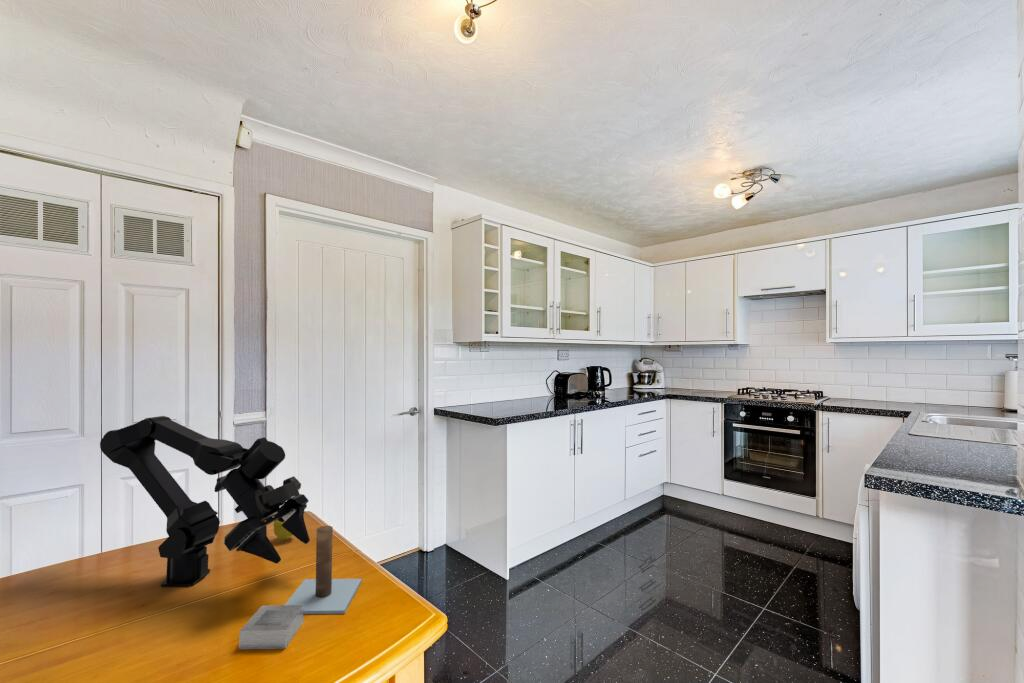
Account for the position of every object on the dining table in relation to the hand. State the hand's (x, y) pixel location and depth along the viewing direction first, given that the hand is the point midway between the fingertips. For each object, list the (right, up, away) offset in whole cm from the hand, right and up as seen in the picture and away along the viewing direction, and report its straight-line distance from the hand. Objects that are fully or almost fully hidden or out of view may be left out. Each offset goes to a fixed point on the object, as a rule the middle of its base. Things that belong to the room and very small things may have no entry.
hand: (294, 551), depth 92 cm
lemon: (-15, -9, +25) cm, 30 cm away
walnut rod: (+7, -8, -1) cm, 10 cm away
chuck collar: (+3, -8, -14) cm, 16 cm away
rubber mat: (+7, -9, -1) cm, 11 cm away
